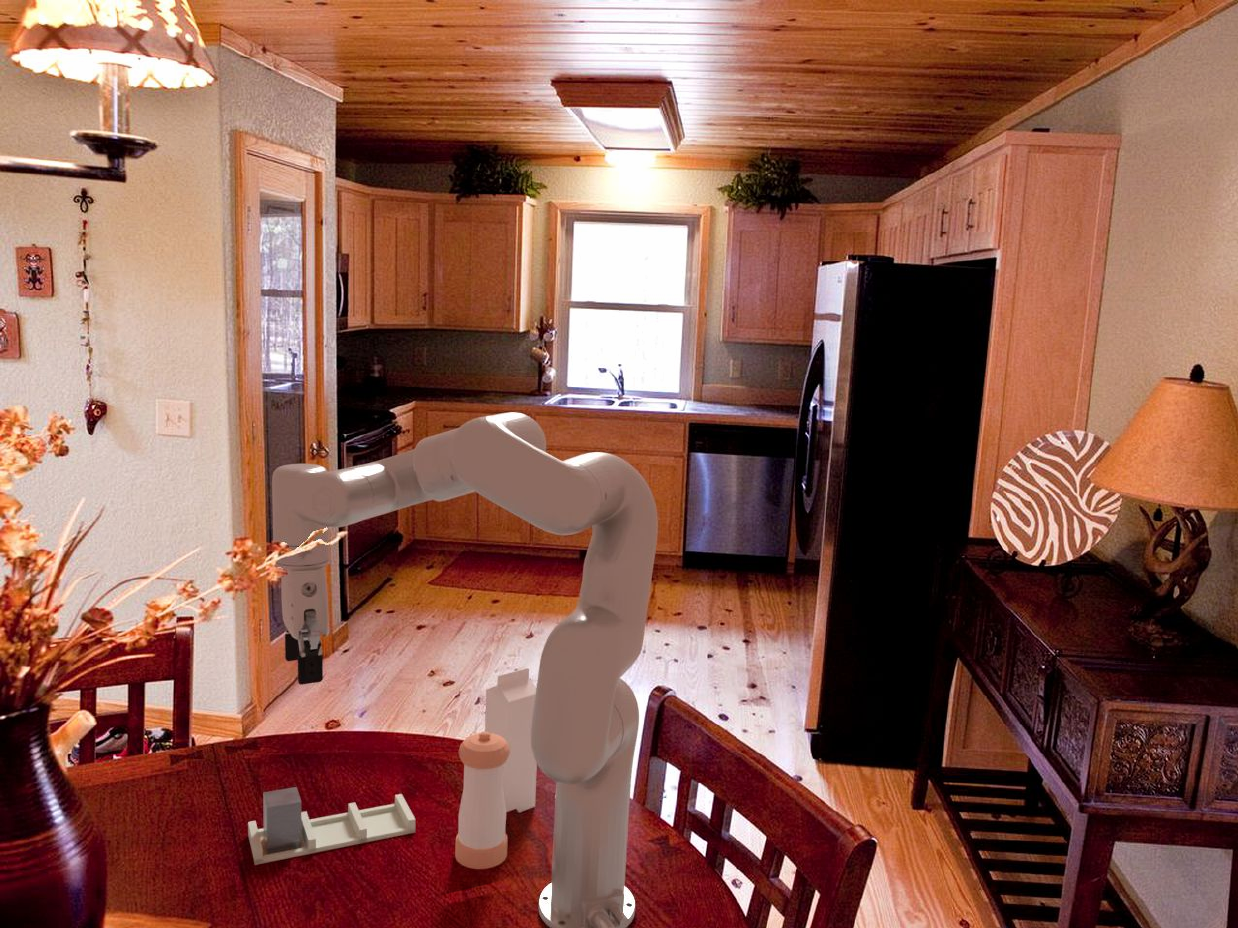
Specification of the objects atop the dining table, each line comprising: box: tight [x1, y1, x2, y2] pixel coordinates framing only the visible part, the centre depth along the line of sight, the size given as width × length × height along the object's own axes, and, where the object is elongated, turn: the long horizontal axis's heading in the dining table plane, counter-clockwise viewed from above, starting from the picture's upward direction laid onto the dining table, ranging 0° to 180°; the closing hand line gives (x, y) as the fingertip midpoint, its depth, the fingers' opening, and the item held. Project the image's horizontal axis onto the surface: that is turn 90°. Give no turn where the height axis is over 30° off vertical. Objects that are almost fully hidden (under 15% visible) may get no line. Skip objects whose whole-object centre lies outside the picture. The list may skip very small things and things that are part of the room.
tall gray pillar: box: [262, 786, 302, 855], centre depth 134 cm, size 4×4×7 cm
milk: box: [484, 667, 538, 813], centre depth 148 cm, size 6×6×22 cm
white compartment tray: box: [247, 793, 416, 866], centre depth 138 cm, size 8×22×3 cm, turn 117°
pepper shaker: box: [454, 730, 510, 870], centre depth 133 cm, size 7×7×19 cm
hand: (303, 670), depth 135 cm, fingers open, 9 cm apart
